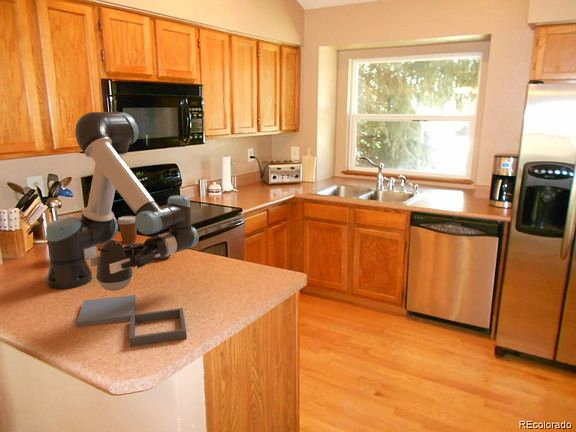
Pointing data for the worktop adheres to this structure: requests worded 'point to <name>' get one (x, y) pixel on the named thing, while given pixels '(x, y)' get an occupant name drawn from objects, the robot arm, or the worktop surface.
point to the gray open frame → (161, 335)
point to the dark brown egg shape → (109, 255)
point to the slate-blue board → (106, 310)
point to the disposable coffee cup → (128, 228)
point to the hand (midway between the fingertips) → (100, 265)
